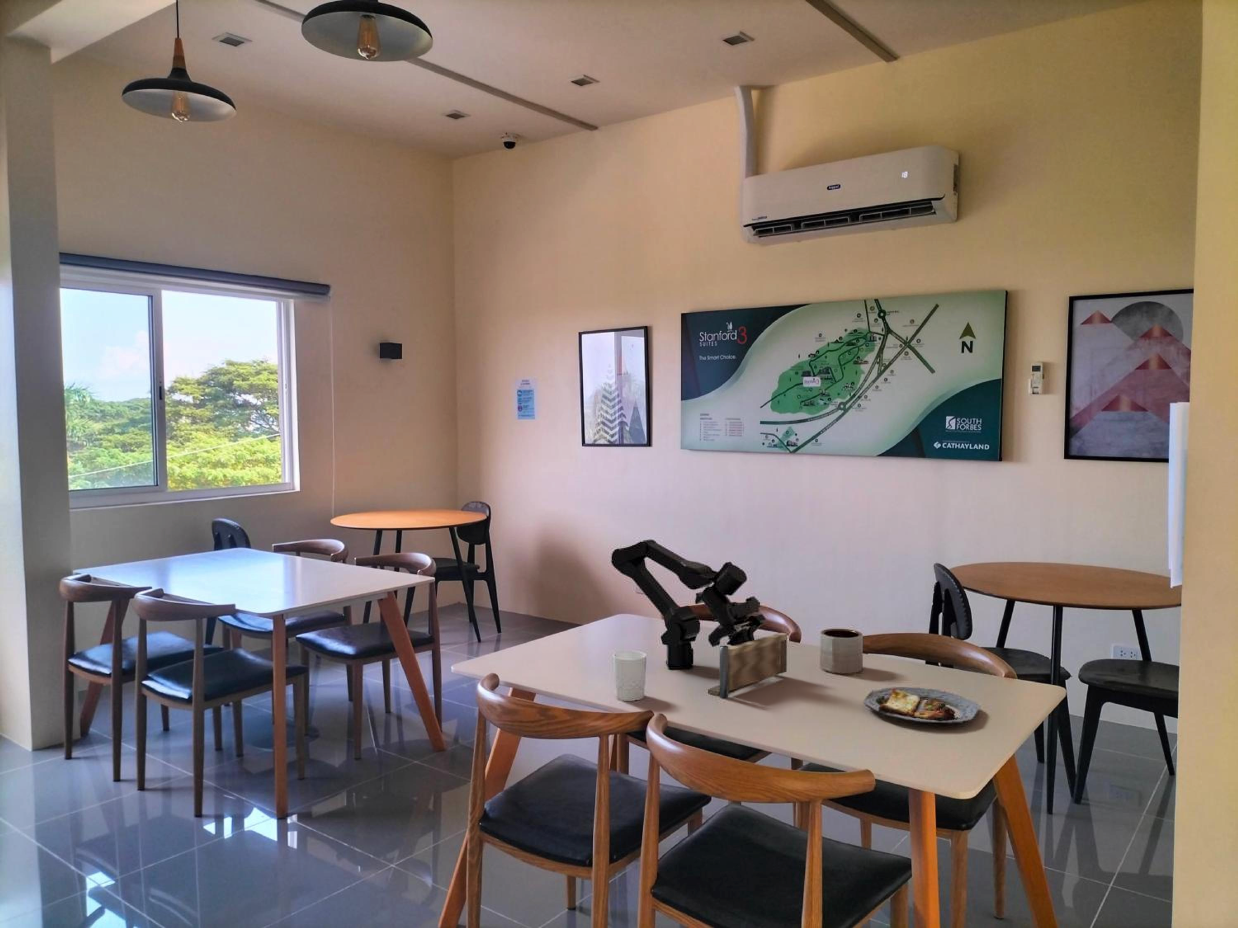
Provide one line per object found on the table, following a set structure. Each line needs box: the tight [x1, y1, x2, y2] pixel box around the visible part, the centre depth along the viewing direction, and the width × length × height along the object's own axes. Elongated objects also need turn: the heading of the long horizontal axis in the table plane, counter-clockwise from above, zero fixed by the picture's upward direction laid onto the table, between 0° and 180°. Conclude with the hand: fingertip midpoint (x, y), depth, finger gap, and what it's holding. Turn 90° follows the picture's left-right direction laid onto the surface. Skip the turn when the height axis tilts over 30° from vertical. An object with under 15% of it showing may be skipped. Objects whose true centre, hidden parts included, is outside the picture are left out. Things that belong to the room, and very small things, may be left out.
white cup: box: [612, 650, 647, 702], centre depth 203 cm, size 8×8×10 cm
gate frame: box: [707, 645, 740, 699], centre depth 212 cm, size 26×6×12 cm, turn 139°
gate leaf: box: [728, 632, 788, 691], centre depth 211 cm, size 22×2×10 cm, turn 133°
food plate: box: [863, 686, 981, 725], centre depth 192 cm, size 25×23×4 cm
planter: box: [819, 628, 864, 675], centre depth 225 cm, size 11×11×10 cm
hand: (757, 657), depth 212 cm, fingers closed
